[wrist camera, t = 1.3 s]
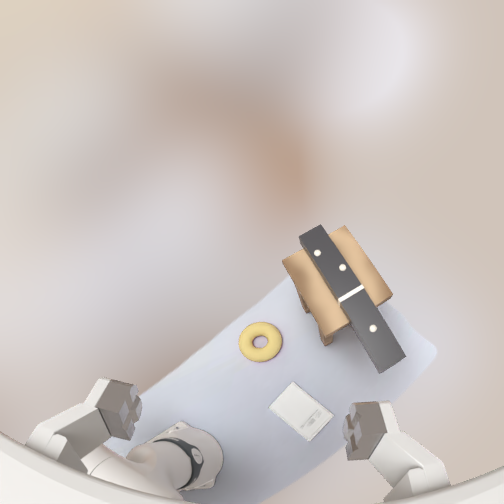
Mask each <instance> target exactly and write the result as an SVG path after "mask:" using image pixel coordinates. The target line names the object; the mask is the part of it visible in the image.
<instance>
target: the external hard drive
mask: <svg viewBox="0 0 504 504" xmlns="http://www.w3.org/2000/svg"><path fill="white" fill-rule="evenodd" d="M268 408H269V409H270V410H272V411H273V412H274V413H275V414H276V415H277V416H279V417H280V418H281V419H282V420H283V421H284V422H286V423H287V424H288V425H289V426H290V427H292V428H293V429H294V430H295V431H296V432H298V433H299V434H300V435H301V436H303V437H304V438H305V439H306V440H308V441H309V442H310V441H311V440H312V439H313V438H314V437H315V436H316V435H317V434H318V433H319V432H320V430H321V429H322V428H323V427H324V426H325V425H326V424H327V423H328V422H329V421H330V420H331V419H332V418H333V416H334V414H332V413H331V412H330V411H329V410H327V409H326V408H325V407H324V406H322V405H321V404H320V403H319V402H317V401H316V400H315V399H314V398H312V397H311V396H310V395H309V394H308V393H306V392H305V391H304V390H303V389H301V388H300V387H299V386H298V385H297V384H295V383H294V382H292V383H291V384H290V385H289V386H288V387H287V388H286V389H285V390H284V391H283V393H282V394H281V395H280V396H279V397H278V398H277V399H276V400H275V401H274V402H273V403H272V404H271V405H270V406H269V407H268Z"/></svg>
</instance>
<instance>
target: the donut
mask: <svg viewBox="0 0 504 504" xmlns="http://www.w3.org/2000/svg"><path fill="white" fill-rule="evenodd" d="M257 336H265V337H266V338H267V339H268V343H267V345H266V346H265V347H263V348H256V347H254V346H253V343H252V342H253V339H254V338H255V337H257ZM281 345H282V337H281V334H280V332H279V331H278V329H277V328H276V327H275V326H273V325H272V324H269V323H266V322H257V323H253V324H251V325H249V326H247V327H246V328H245V329H244V330H243V331H242V333H241V335H240V337H239V348H240V351H241V352H242V354H243V355H244V356H245V357H246V358H248V359H249V360H252V361H255V362H263V361H267V360H270V359H271V358H273V357H274V356H275V355H276V354H277V353H278V352H279V350H280V348H281Z"/></svg>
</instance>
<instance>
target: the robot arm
mask: <svg viewBox="0 0 504 504" xmlns="http://www.w3.org/2000/svg"><path fill="white" fill-rule="evenodd" d="M137 393H138V388H137V386H136V385H133V384H129V383H124V382H121V381H117V380H112V379H109V378H105V377H101V378H99V379H98V381H97V382H96V384H95V385H94V387H93V389H92V390H91V392H90V394H89V395H88V397H87V399H86V400H85V402H84V404H83V403H80V404H78V405H75V406H73V407H71V408H70V409H68V410H66V411H64V412H62V413H60V414H58V415H56V416H54V417H52V418H50V419H48V420H46V421H44V422H42V423H39V424H38V425H37V426H36V428H35V430H34V431H33V433H32V434H31V436H30V437H29V439H28V441H27V442H26V444H25V445H23V444H21V443H19V442H17V441H16V440H14V439H12V438H10V437H9V436H7V435H5V434H4V433H2V432H0V504H199V503H193V502H187V501H184V499H183V496H182V495H181V494H180V493H179V492H181V490H186V491H188V490H191V489H207V488H212V487H213V486H214V484H215V478H216V476H217V474H218V473H219V471H220V470H221V467H222V464H223V453H222V450H221V447H220V445H219V443H218V442H217V441H216V439H215V438H214V437H213V436H211V435H210V434H209V433H207V432H205V431H203V430H200V429H196V428H193V427H191V426H190V425H188V424H187V423H185V422H183V421H180V422H178V423H176V424H175V425H173V426H172V427H170V428H169V429H167V430H165V431H164V432H162V433H161V434H159V435H157V436H156V437H154V438H152V439H151V440H149V441H148V442H146V443H144V444H142V445H138V446H136V447H134V448H133V449H132V450H131V451H130V452H129V453H128V455H127V456H126V458H124V457H122V456H120V455H118V454H117V453H115V452H114V451H112V450H111V449H109V448H108V447H106V446H105V445H103V443H104V442H105V441H107V440H108V439H109V438H111V436H113V437H117V438H121V439H125V440H129V441H130V440H131V438H132V435H133V433H134V430H135V426H134V423H135V422H137V421H138V420H139V418H140V416H141V411H142V402H141V399H140V398H139V397H138V396H137ZM349 412H350V414H349V415H347V416H346V418H345V421H344V426H343V434H344V438H345V439H346V440H347V441H348V443H347V445H346V452H347V457H348V460H364V459H369V462H370V463H371V464H372V465H373V466H374V467H375V468H376V469H377V470H378V472H379V473H380V474H381V475H382V476H383V477H384V478H385V479H386V481H387V482H388V483H389V484H390V485H391V486H392V487H393V489H392V490H391V491H390V493H388V495H387V496H386V497H385V498H384V502H383V503H377V504H504V466H502V467H500V468H498V469H495V470H493V471H491V472H489V473H486V474H484V475H481V476H478V477H476V478H473V479H470V480H467V481H464V482H462V483H458V484H456V485H452V486H451V484H450V481H449V478H448V475H447V473H446V470H445V467H444V464H443V462H442V461H441V460H440V459H439V458H437V457H436V456H435V455H433V454H432V453H431V452H430V451H428V450H427V449H426V448H424V447H423V446H422V445H421V444H419V443H418V442H417V441H415V440H414V439H413V438H412V437H410V436H409V435H408V434H407V433H406V432H404V431H402V432H401V431H400V428H399V425H398V422H397V419H396V416H395V413H394V410H393V407H392V405H391V402H390V401H378V402H376V401H375V402H361V403H352V404H351V406H350V408H349ZM177 427H179V429H177ZM204 484H205V485H204Z"/></svg>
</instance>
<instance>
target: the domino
mask: <svg viewBox="0 0 504 504" xmlns="http://www.w3.org/2000/svg"><path fill="white" fill-rule="evenodd" d="M299 239H300V244H301V245H302V247H303V248H304V250H305V251H306V253H307V255H308V256H309V258H310V259H311V261H312V262H313V264H314V266H315V267H316V269H317V270H318V272H319V274H320V275H321V277H322V278H323V280H324V282H325V283H326V285H327V286H328V288H329V290H330V291H331V293H332V295H333V296H334V298H335V299H336V301H337V303H338V305H339V307H340V308H341V309H342V311H343V313H344V314H345V316H346V318H347V319H348V321H349V323H350V324H351V326H352V328H353V329H354V331H355V333H356V334H357V336H358V338H359V339H360V341H361V343H362V345H363V346H364V348H365V350H366V351H367V353H368V355H369V357H370V358H371V360H372V362H373V364H374V365H375V367H376V369H377V371H378V372H379V373H382V372H384V371H385V370H387V369H388V368H390V367H391V366H393V365H395V364H396V363H398V362H399V361H400V360H402V359H403V358H405V357H406V356H405V354H404V352H403V350H402V349H401V347H400V345H399V344H398V342H397V340H396V339H395V337H394V335H393V334H392V332H391V330H390V329H389V327H388V325H387V324H386V322H385V320H384V319H383V317H382V316H381V314H380V312H379V311H378V309H377V308H376V306H375V304H374V303H373V301H372V300H371V298H370V297H369V295H368V293H367V292H366V290H365V289H364V287H363V285H362V284H361V283H360V281H359V280H358V278H357V277H356V275H355V274H354V272H353V271H352V269H351V268H350V266H349V265H348V263H347V262H346V260H345V259H344V257H343V256H342V254H341V253H340V251H339V250H338V248H337V247H336V245H335V244H334V243H333V241H332V240H331V238H330V237H329V235H328V234H327V233H326V231H325V230H324V228H323V227H322V225H319V226H317V227H315V228H313V229H312V230H310V231H308V232H306V233H304V234H302V235H301V236H299Z"/></svg>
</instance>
